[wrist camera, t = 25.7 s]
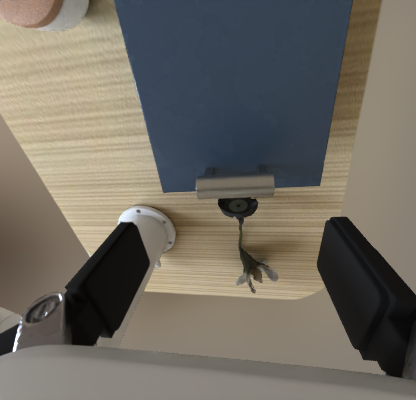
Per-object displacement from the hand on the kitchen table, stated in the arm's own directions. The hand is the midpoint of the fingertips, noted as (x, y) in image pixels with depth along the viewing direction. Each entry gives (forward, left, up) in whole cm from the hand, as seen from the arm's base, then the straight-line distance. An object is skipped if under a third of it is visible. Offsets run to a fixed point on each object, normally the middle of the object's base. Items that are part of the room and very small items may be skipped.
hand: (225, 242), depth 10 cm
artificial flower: (-20, -2, -24) cm, 31 cm away
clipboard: (+7, 0, -10) cm, 12 cm away
